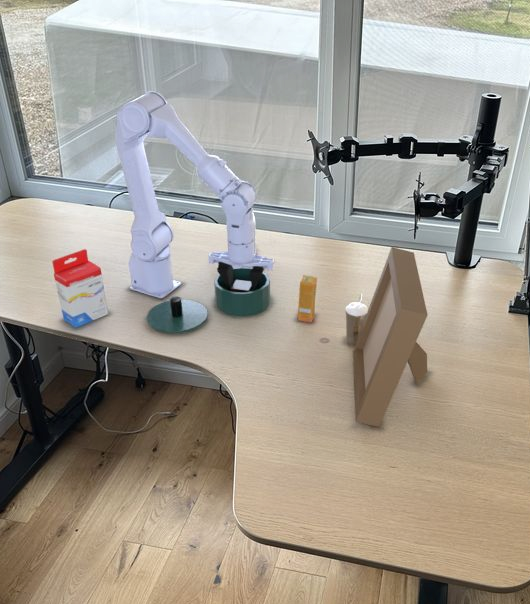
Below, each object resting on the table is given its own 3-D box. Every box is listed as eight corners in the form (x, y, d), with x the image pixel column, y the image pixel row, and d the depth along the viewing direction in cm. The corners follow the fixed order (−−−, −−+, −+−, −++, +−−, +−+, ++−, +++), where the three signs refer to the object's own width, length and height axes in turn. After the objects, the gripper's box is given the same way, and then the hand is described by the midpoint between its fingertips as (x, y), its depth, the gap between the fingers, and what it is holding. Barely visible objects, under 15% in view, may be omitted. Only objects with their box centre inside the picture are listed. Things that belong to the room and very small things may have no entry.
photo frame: (355, 425, 118) (365, 307, 104) (352, 355, 136) (361, 245, 121) (437, 429, 118) (459, 310, 103) (424, 358, 136) (441, 248, 121)
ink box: (75, 329, 141) (62, 268, 133) (63, 320, 144) (49, 260, 135) (109, 314, 147) (99, 255, 138) (97, 305, 149) (86, 247, 141)
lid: (139, 332, 141) (136, 312, 138) (157, 301, 151) (155, 282, 148) (199, 338, 140) (197, 317, 137) (213, 305, 150) (212, 286, 147)
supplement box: (312, 323, 145) (314, 283, 140) (297, 321, 146) (298, 281, 140) (315, 315, 148) (317, 276, 142) (300, 313, 149) (301, 274, 143)
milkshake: (368, 336, 142) (371, 296, 136) (361, 349, 138) (365, 308, 132) (348, 331, 143) (350, 292, 137) (341, 345, 139) (343, 304, 133)
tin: (210, 314, 147) (208, 291, 144) (222, 287, 157) (221, 265, 154) (264, 318, 146) (264, 296, 143) (273, 291, 156) (273, 269, 153)
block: (231, 304, 150) (230, 288, 148) (236, 295, 154) (236, 279, 151) (249, 306, 150) (248, 290, 147) (254, 297, 153) (253, 281, 151)
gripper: (202, 243, 141) (206, 298, 148) (268, 251, 138) (269, 306, 146) (213, 229, 146) (216, 283, 154) (276, 236, 144) (276, 290, 152)
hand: (242, 293), depth 151 cm, fingers open, 5 cm apart
